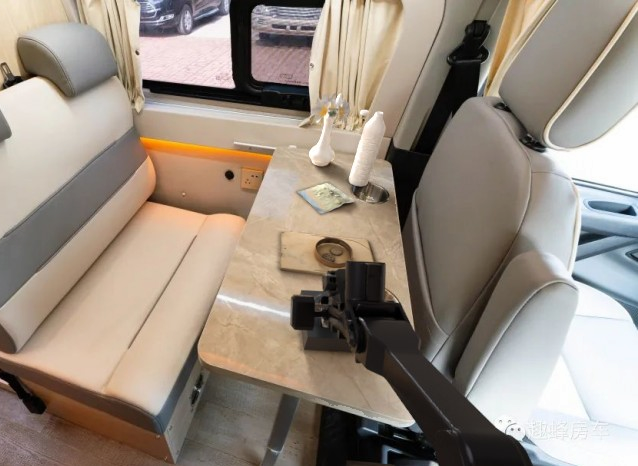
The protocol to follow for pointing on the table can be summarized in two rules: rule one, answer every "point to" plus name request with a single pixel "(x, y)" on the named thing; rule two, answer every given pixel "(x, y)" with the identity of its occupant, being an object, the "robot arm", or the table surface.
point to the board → (320, 252)
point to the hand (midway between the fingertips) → (330, 306)
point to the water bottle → (367, 149)
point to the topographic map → (325, 197)
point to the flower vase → (327, 126)
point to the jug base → (322, 332)
